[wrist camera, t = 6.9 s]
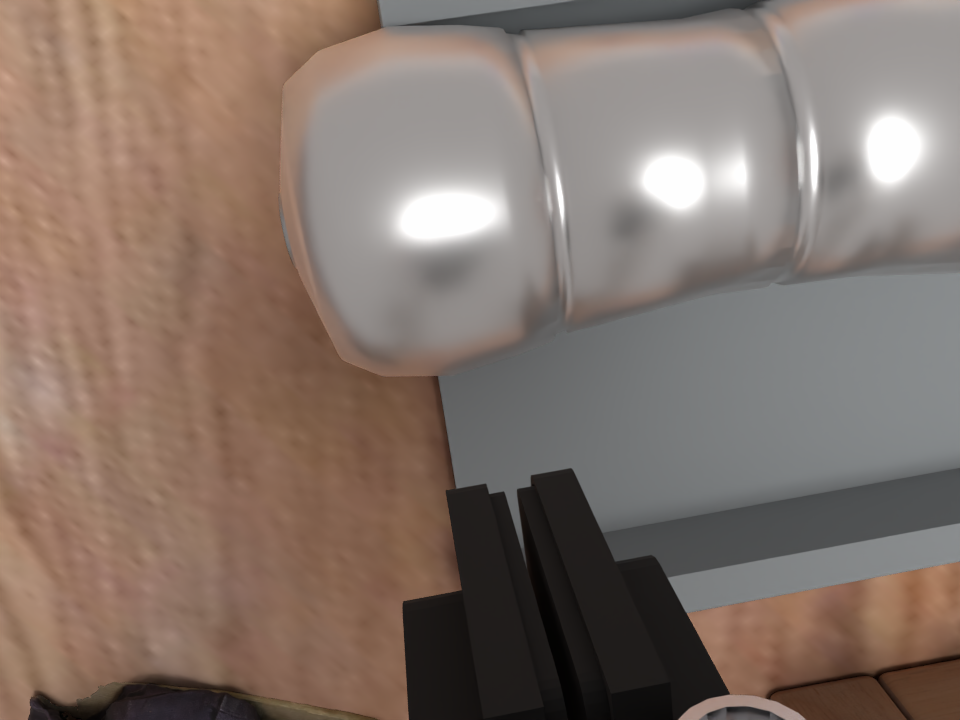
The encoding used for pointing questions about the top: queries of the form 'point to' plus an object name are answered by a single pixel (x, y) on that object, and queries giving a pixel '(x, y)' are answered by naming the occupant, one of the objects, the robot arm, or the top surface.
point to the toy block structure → (882, 696)
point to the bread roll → (180, 706)
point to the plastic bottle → (612, 170)
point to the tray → (729, 406)
